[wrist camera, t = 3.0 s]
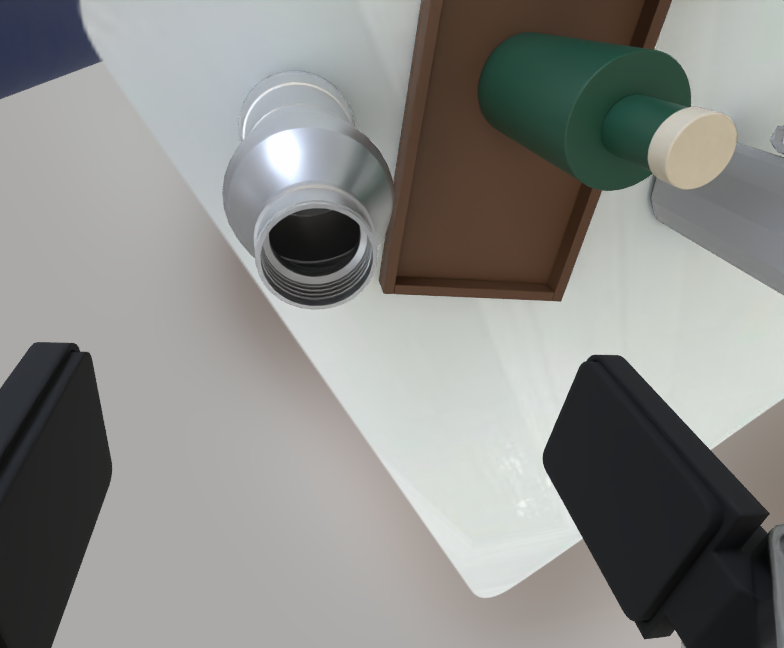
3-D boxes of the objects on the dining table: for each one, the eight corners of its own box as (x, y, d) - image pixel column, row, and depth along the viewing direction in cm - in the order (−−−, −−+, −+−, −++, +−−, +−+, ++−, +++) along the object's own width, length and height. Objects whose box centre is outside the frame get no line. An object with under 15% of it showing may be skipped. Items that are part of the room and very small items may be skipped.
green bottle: (468, 128, 33) (601, 223, 20) (490, 24, 30) (668, 48, 16) (550, 139, 35) (728, 234, 21) (579, 40, 32) (812, 75, 18)
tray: (378, 280, 39) (383, 294, 37) (463, -282, 24) (478, -303, 22) (549, 289, 42) (561, 301, 41) (720, -198, 27) (750, -211, 25)
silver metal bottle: (232, 68, 30) (172, 160, 13) (347, 62, 31) (427, 142, 14) (251, 178, 33) (223, 359, 17) (354, 170, 34) (424, 334, 18)
